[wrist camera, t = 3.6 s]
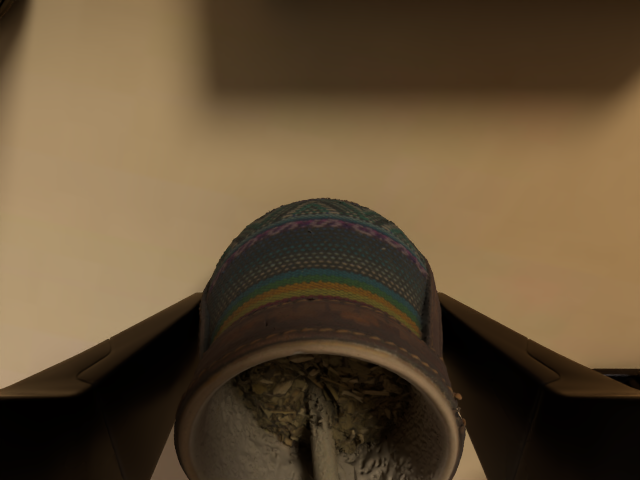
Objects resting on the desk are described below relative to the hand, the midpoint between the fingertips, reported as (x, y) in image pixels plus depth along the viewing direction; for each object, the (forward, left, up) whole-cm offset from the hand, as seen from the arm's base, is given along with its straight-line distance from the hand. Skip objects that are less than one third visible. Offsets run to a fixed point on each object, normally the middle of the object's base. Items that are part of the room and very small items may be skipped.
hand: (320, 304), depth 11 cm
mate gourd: (0, 0, -3) cm, 3 cm away
